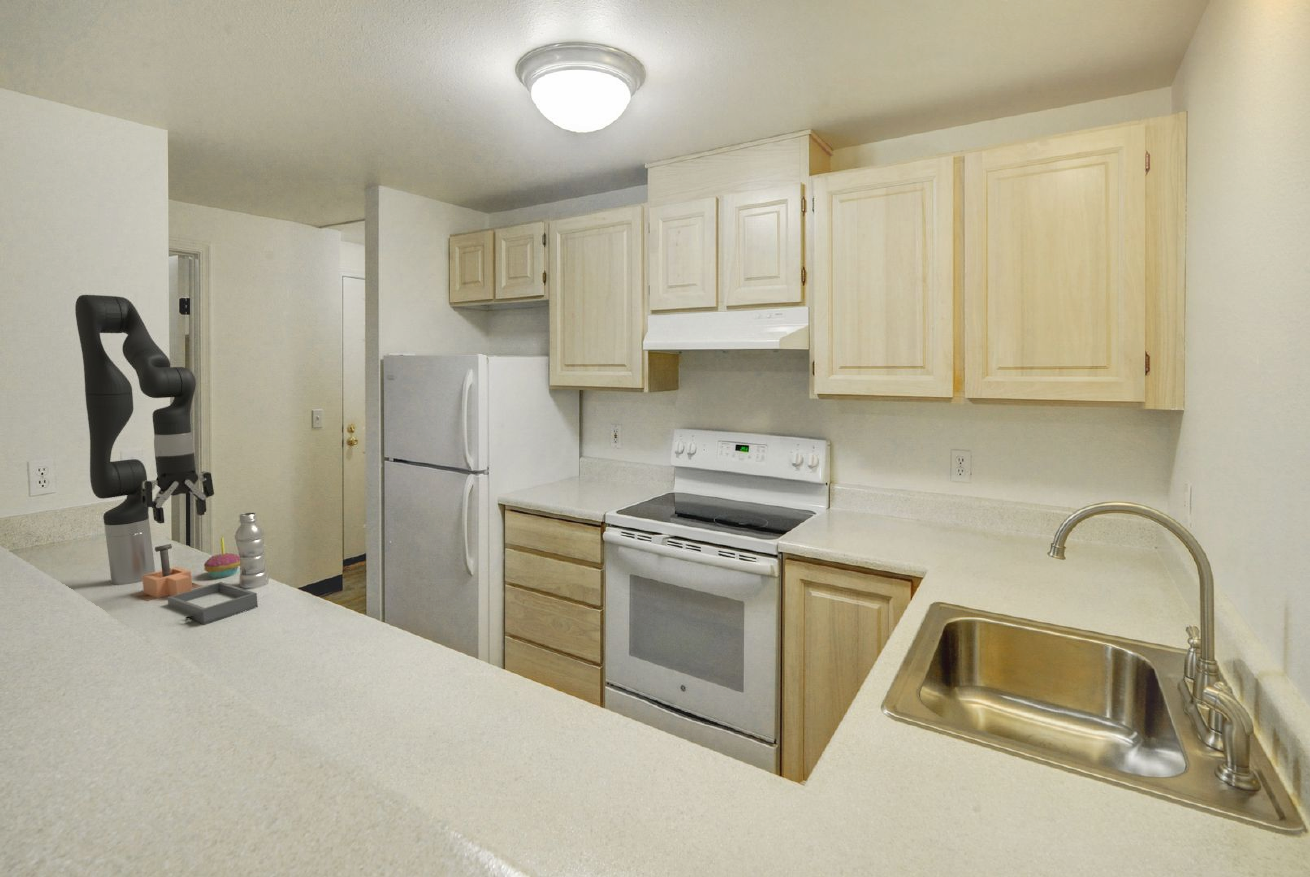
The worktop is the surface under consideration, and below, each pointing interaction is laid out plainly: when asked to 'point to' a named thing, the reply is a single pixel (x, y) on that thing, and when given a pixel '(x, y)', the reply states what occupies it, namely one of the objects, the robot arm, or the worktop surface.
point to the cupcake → (222, 564)
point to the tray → (217, 611)
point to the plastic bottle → (251, 552)
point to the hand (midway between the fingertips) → (181, 518)
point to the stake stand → (165, 571)
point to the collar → (167, 583)
